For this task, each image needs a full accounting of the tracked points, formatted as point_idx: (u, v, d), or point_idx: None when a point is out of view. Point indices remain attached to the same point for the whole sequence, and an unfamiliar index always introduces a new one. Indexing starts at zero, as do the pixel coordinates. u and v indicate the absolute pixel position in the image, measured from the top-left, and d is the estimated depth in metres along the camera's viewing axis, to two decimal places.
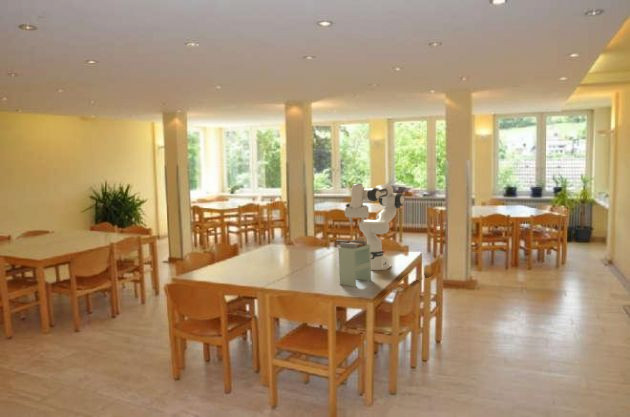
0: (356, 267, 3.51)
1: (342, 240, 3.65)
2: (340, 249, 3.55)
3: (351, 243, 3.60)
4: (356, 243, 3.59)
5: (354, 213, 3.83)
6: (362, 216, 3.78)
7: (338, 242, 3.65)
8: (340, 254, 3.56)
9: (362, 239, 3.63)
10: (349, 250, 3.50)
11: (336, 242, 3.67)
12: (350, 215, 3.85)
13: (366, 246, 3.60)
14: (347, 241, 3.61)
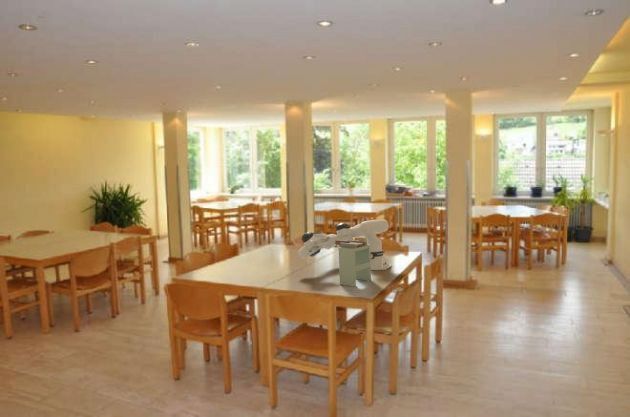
0: (356, 267, 3.51)
1: (342, 240, 3.65)
2: (340, 249, 3.55)
3: (351, 243, 3.60)
4: (356, 243, 3.59)
5: None
6: (325, 238, 3.84)
7: (338, 242, 3.65)
8: (340, 254, 3.56)
9: (362, 239, 3.63)
10: (349, 250, 3.50)
11: (336, 242, 3.67)
12: None
13: (366, 246, 3.60)
14: (347, 241, 3.61)
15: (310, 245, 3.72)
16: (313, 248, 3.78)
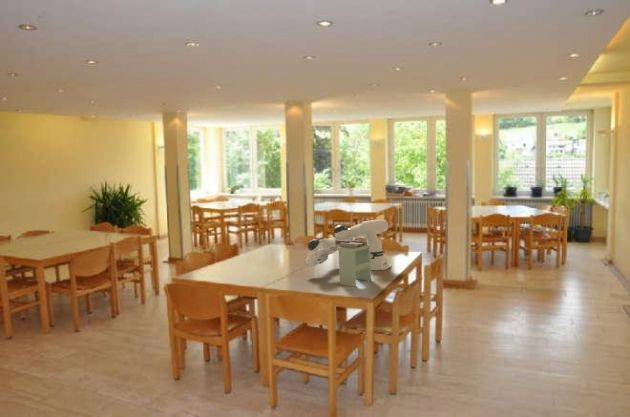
0: (356, 267, 3.51)
1: (342, 240, 3.65)
2: (340, 249, 3.55)
3: (351, 243, 3.60)
4: (356, 243, 3.59)
5: None
6: (333, 246, 3.78)
7: (338, 242, 3.65)
8: (340, 254, 3.56)
9: (362, 239, 3.63)
10: (349, 250, 3.50)
11: (336, 242, 3.67)
12: None
13: (366, 246, 3.60)
14: (347, 241, 3.61)
15: (319, 254, 3.66)
16: (322, 257, 3.73)
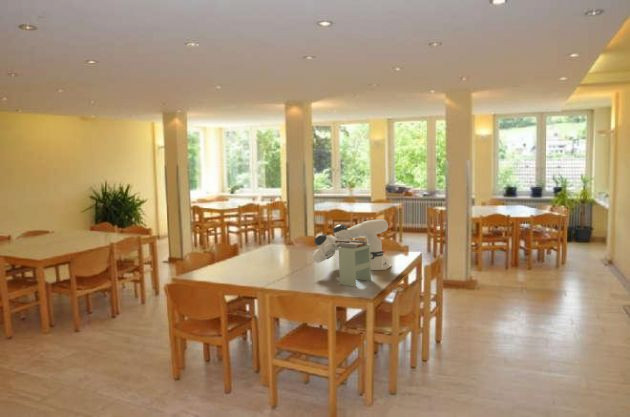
0: (356, 267, 3.51)
1: (342, 240, 3.65)
2: (340, 249, 3.55)
3: (351, 243, 3.60)
4: (356, 243, 3.59)
5: None
6: None
7: None
8: (340, 254, 3.56)
9: (362, 239, 3.63)
10: (349, 250, 3.50)
11: (336, 242, 3.67)
12: (331, 244, 3.66)
13: (366, 246, 3.60)
14: (347, 241, 3.61)
15: (326, 249, 3.62)
16: (329, 252, 3.68)
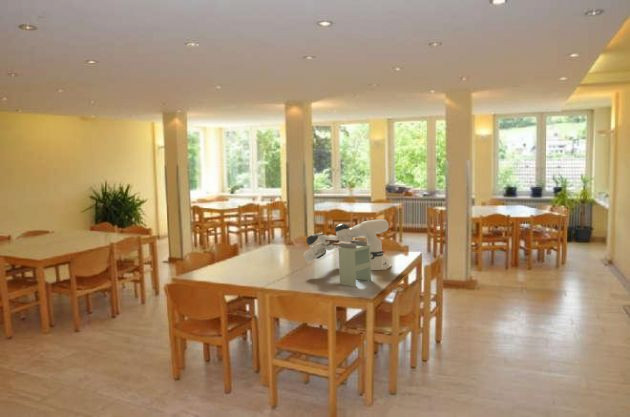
0: (356, 267, 3.51)
1: (332, 239, 3.71)
2: (340, 249, 3.55)
3: (340, 242, 3.66)
4: (345, 242, 3.65)
5: None
6: None
7: None
8: (340, 254, 3.56)
9: (362, 239, 3.63)
10: (349, 250, 3.50)
11: (326, 241, 3.73)
12: None
13: (366, 246, 3.60)
14: (337, 240, 3.67)
15: (316, 248, 3.68)
16: (319, 251, 3.74)
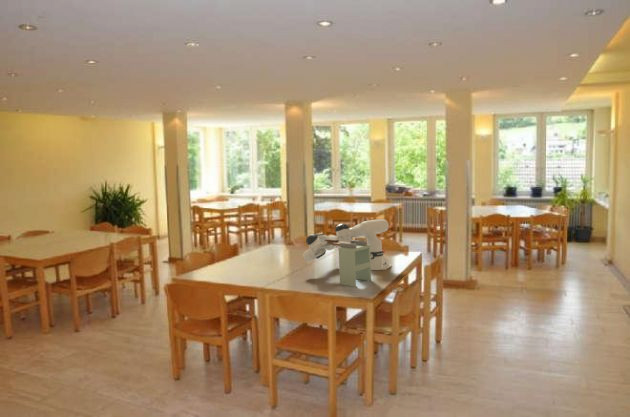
0: (356, 267, 3.51)
1: (331, 239, 3.72)
2: (340, 249, 3.55)
3: (340, 242, 3.66)
4: (345, 242, 3.65)
5: None
6: None
7: (327, 241, 3.72)
8: (340, 254, 3.56)
9: (362, 239, 3.63)
10: (349, 250, 3.50)
11: None
12: None
13: (366, 246, 3.60)
14: (336, 240, 3.67)
15: (316, 248, 3.69)
16: (319, 251, 3.75)
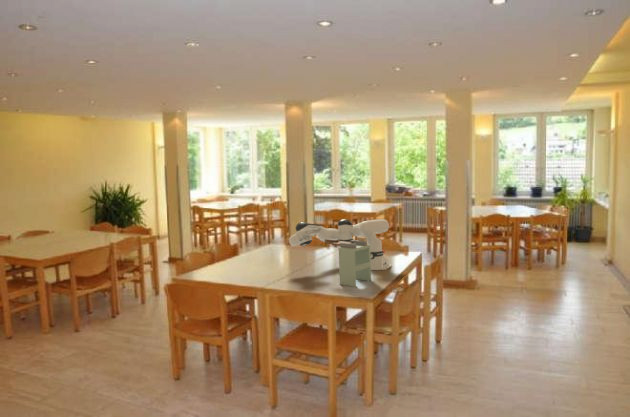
0: (356, 267, 3.51)
1: (331, 239, 3.72)
2: (340, 249, 3.55)
3: (340, 242, 3.66)
4: (345, 242, 3.65)
5: None
6: (316, 228, 3.93)
7: (327, 241, 3.72)
8: (340, 254, 3.56)
9: (362, 239, 3.63)
10: (349, 250, 3.50)
11: (325, 241, 3.73)
12: None
13: (366, 246, 3.60)
14: (336, 240, 3.67)
15: (301, 234, 3.82)
16: (304, 237, 3.88)
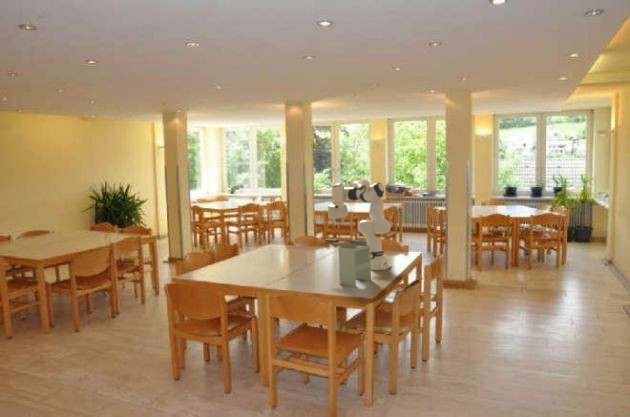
0: (356, 267, 3.51)
1: (331, 239, 3.72)
2: (340, 249, 3.55)
3: (340, 242, 3.66)
4: (345, 242, 3.65)
5: (339, 214, 3.81)
6: (345, 215, 3.87)
7: (327, 241, 3.72)
8: (340, 254, 3.56)
9: (362, 239, 3.63)
10: (349, 250, 3.50)
11: (325, 241, 3.73)
12: (336, 216, 3.78)
13: (366, 246, 3.60)
14: (336, 240, 3.67)
15: (329, 215, 3.76)
16: None
